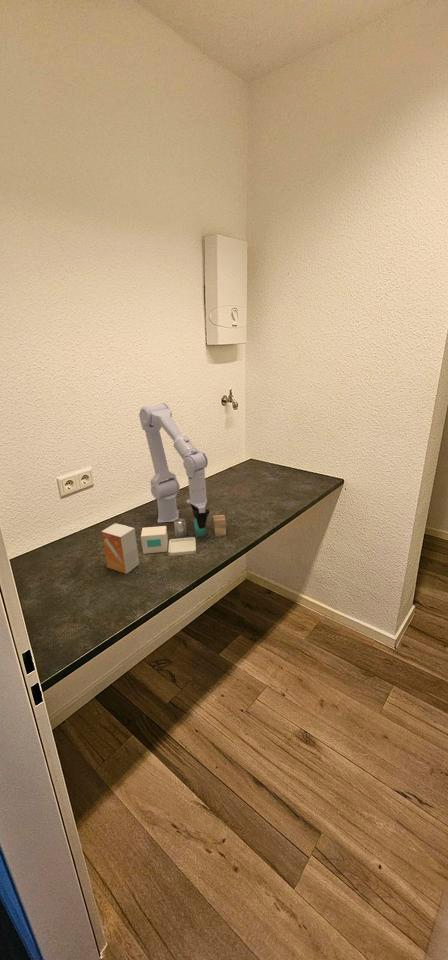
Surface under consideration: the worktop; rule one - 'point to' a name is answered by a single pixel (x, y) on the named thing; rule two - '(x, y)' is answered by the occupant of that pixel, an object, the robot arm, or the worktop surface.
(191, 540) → the tray
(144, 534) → the block
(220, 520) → the oak block
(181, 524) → the cylinder
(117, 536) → the small box
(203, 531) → the cylinder
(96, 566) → the worktop surface
